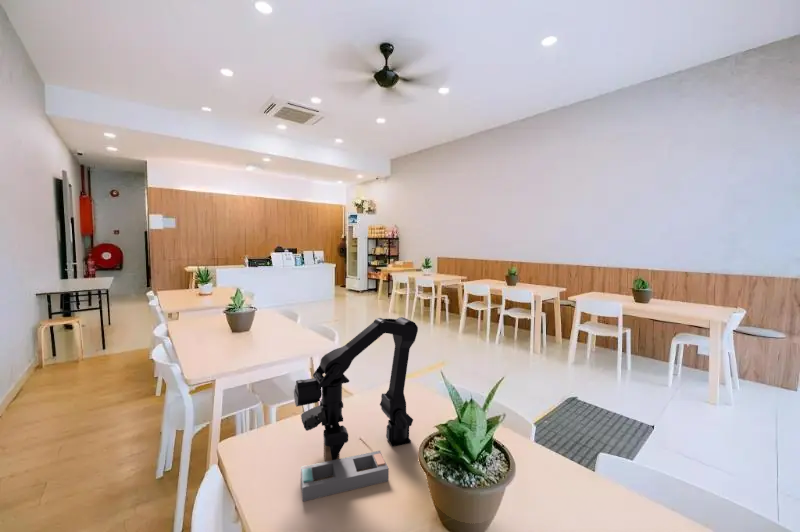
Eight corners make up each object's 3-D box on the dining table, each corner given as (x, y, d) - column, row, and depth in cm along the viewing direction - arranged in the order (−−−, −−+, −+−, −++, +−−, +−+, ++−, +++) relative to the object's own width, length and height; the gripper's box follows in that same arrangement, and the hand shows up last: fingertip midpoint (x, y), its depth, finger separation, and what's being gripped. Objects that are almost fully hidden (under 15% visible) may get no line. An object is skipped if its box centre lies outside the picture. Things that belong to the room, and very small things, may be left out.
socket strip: (379, 462, 96) (380, 449, 95) (388, 480, 88) (388, 467, 88) (300, 479, 88) (300, 465, 88) (302, 501, 80) (302, 486, 80)
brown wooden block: (337, 453, 99) (337, 427, 99) (339, 461, 96) (339, 434, 95) (323, 455, 98) (323, 429, 97) (325, 464, 94) (325, 437, 94)
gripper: (300, 388, 101) (300, 437, 103) (305, 419, 84) (305, 477, 85) (337, 384, 105) (336, 431, 106) (348, 412, 88) (348, 468, 89)
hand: (331, 450), depth 97 cm, fingers open, 9 cm apart
